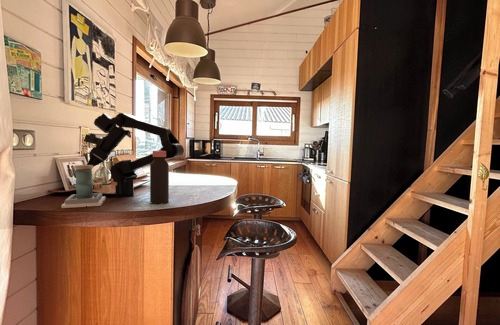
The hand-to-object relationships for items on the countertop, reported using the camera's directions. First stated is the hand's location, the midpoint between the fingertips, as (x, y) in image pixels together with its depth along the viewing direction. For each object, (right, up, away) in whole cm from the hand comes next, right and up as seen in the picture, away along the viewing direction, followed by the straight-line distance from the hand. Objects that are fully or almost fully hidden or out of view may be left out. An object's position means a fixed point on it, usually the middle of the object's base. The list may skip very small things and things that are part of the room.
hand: (86, 168), depth 105 cm
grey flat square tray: (+6, -13, -10) cm, 17 cm away
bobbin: (+6, -12, -10) cm, 16 cm away
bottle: (+32, -13, -6) cm, 35 cm away
